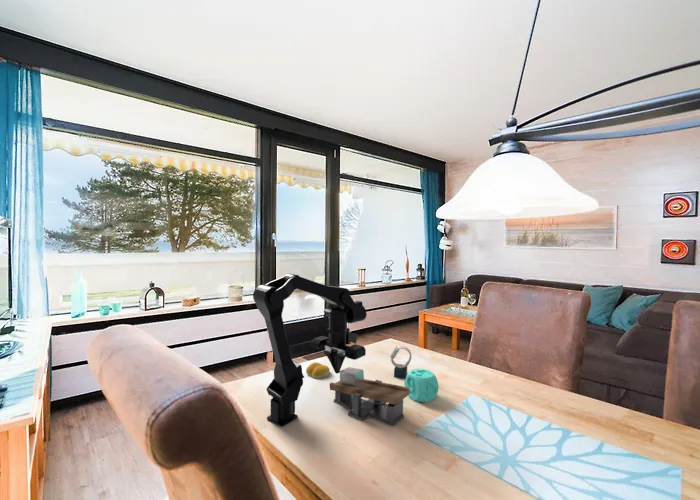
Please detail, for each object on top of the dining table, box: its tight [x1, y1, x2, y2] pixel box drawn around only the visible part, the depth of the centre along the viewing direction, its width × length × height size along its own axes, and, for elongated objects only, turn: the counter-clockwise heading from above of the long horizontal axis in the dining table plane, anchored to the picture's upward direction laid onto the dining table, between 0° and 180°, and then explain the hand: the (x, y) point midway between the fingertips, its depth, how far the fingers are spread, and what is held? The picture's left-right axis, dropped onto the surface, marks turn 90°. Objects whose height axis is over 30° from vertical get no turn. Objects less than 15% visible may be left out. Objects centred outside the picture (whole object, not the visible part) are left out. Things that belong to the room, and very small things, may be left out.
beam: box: [329, 378, 409, 405], centre depth 106 cm, size 24×8×2 cm, turn 52°
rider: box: [338, 366, 365, 388], centre depth 110 cm, size 6×5×4 cm
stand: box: [333, 379, 405, 427], centre depth 106 cm, size 22×13×7 cm, turn 52°
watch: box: [389, 345, 412, 380], centre depth 132 cm, size 6×8×11 cm
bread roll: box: [305, 361, 331, 379], centre depth 133 cm, size 8×9×4 cm
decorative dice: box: [404, 368, 440, 403], centre depth 115 cm, size 8×8×8 cm
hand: (337, 372), depth 113 cm, fingers closed
